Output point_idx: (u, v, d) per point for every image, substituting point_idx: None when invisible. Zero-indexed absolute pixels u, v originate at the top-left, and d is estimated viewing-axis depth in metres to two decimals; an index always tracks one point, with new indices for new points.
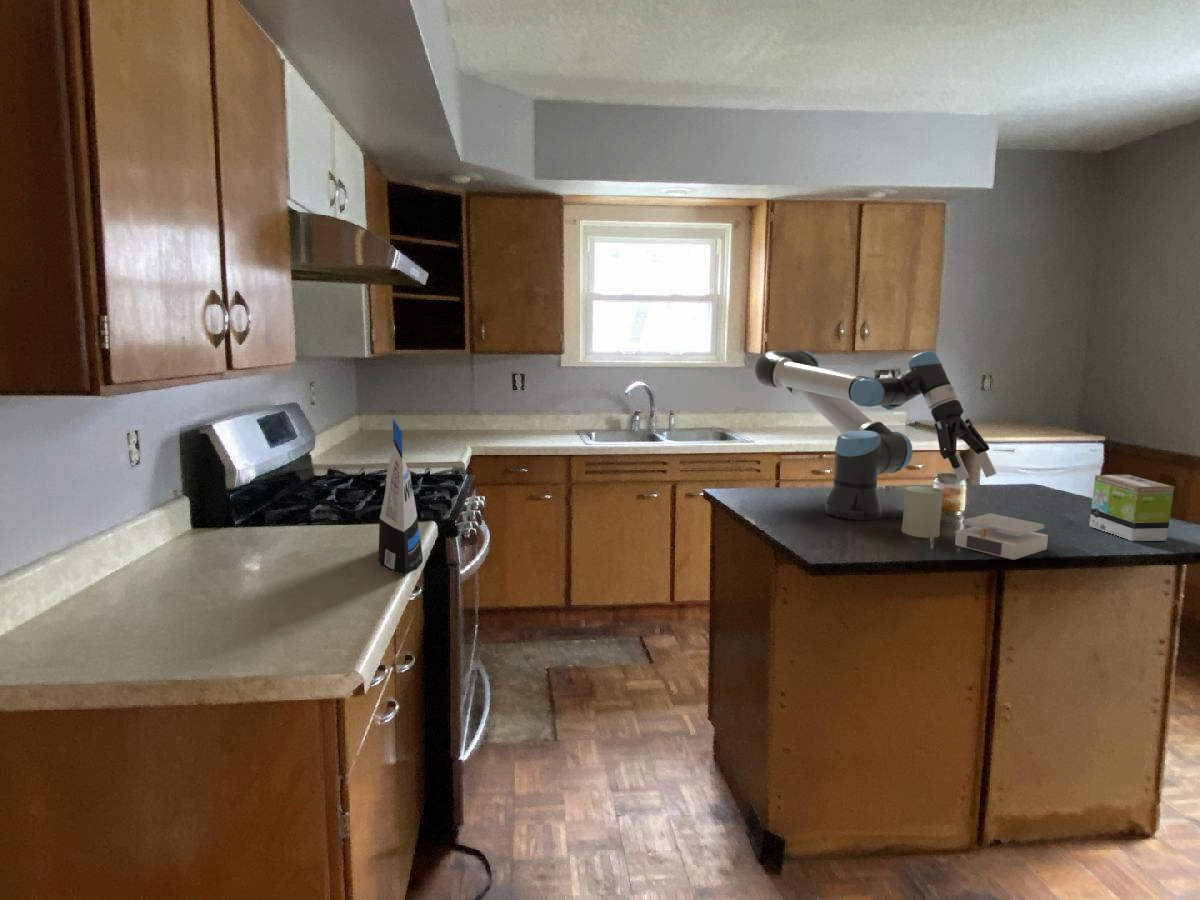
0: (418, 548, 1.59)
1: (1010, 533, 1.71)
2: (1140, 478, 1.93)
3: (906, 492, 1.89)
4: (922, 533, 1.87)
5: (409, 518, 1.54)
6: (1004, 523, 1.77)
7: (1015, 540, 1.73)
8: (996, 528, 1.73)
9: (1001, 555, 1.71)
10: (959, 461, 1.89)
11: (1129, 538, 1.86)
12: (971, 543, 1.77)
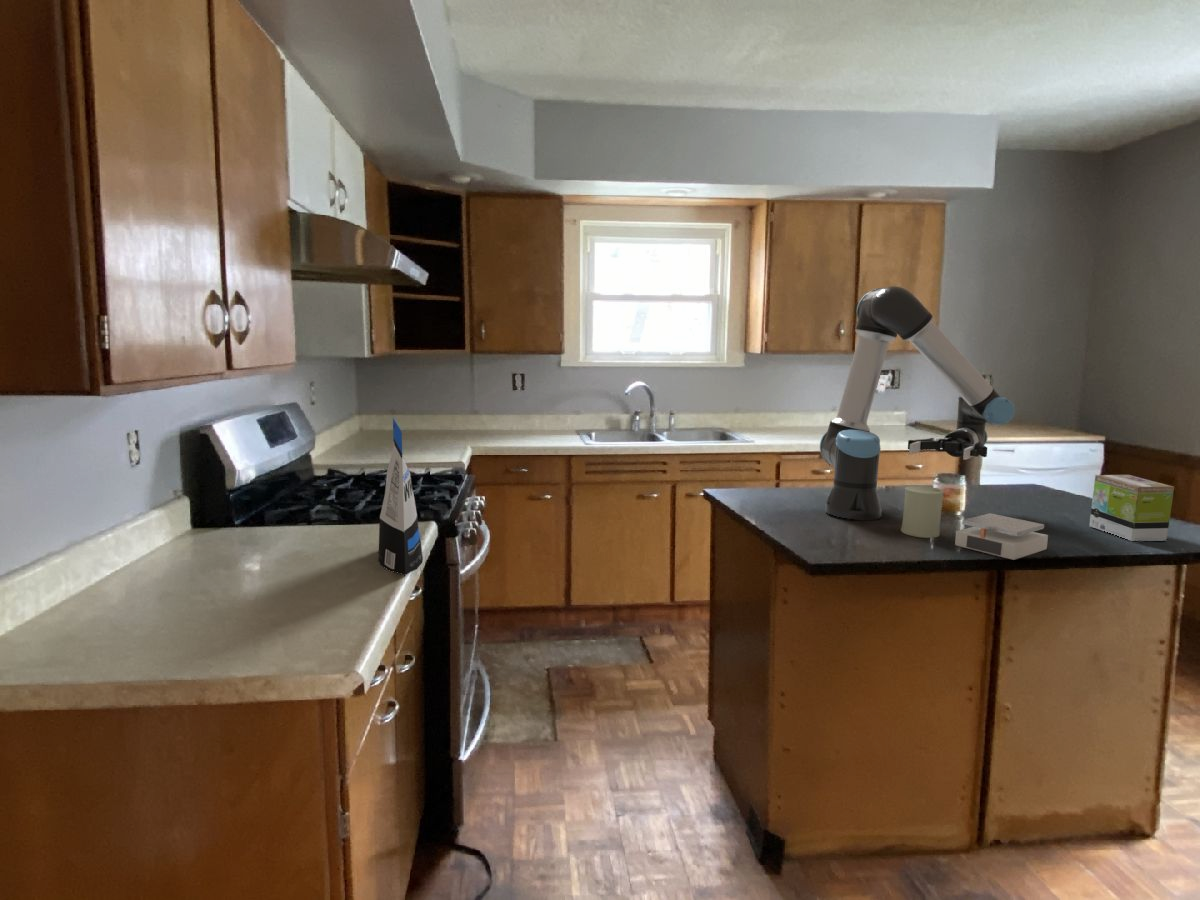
0: (418, 548, 1.59)
1: (1010, 533, 1.71)
2: (1140, 478, 1.93)
3: (906, 492, 1.89)
4: (922, 533, 1.87)
5: (409, 518, 1.54)
6: (1004, 523, 1.77)
7: (1015, 540, 1.73)
8: (996, 528, 1.73)
9: (1001, 555, 1.71)
10: (971, 456, 1.94)
11: (1129, 538, 1.86)
12: (971, 543, 1.77)
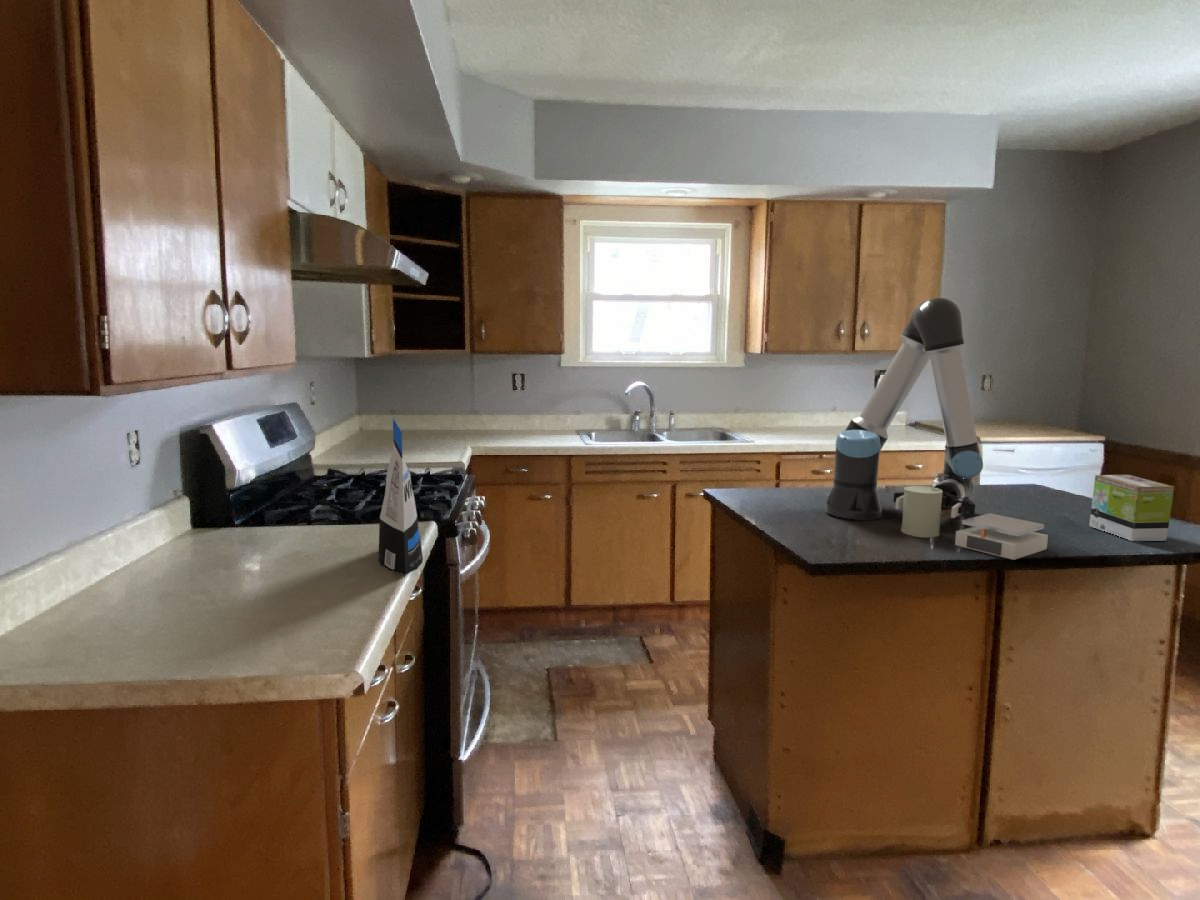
0: (418, 548, 1.59)
1: (1010, 533, 1.71)
2: (1140, 478, 1.93)
3: (905, 492, 1.89)
4: (921, 533, 1.87)
5: (409, 518, 1.54)
6: (1004, 523, 1.77)
7: (1015, 540, 1.73)
8: (996, 528, 1.73)
9: (1001, 555, 1.71)
10: (958, 513, 1.88)
11: (1129, 538, 1.86)
12: (971, 543, 1.77)
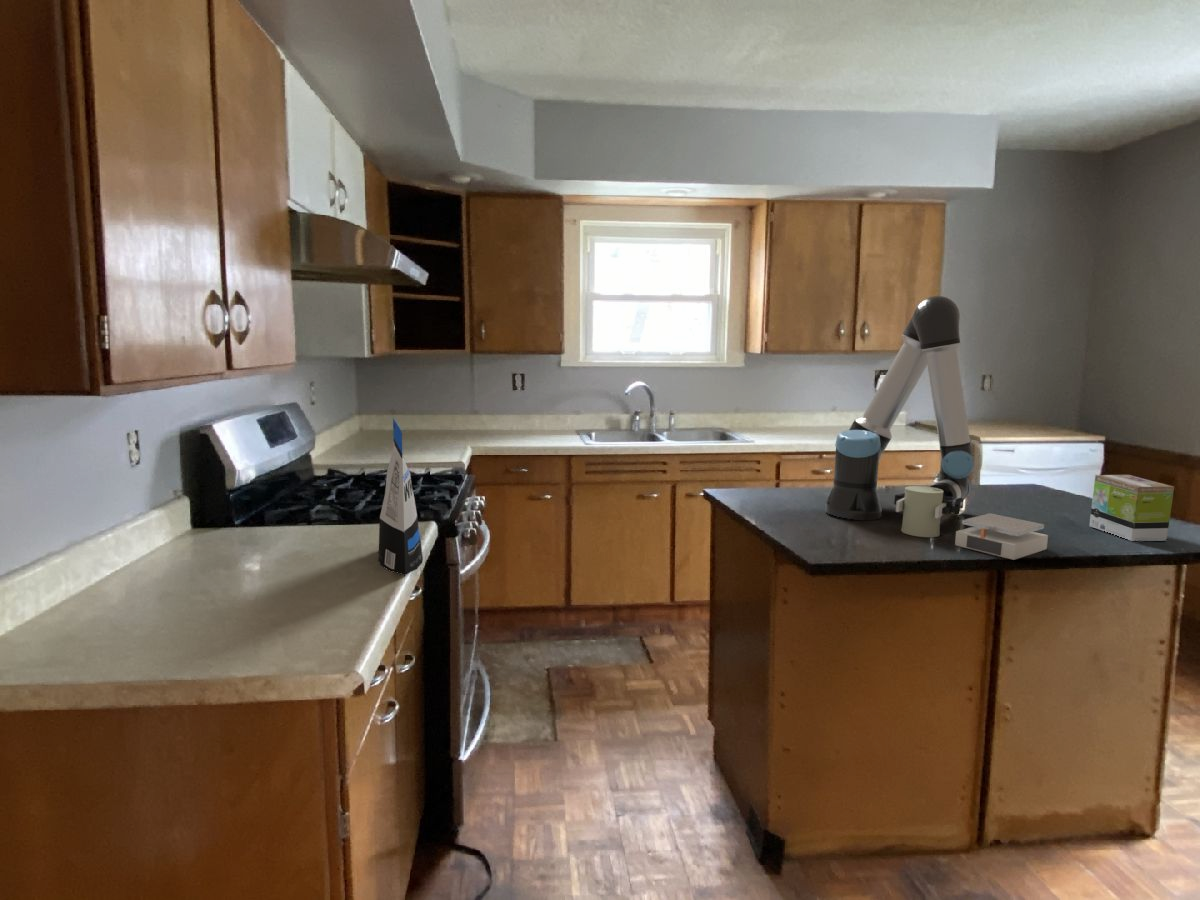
0: (418, 548, 1.59)
1: (1010, 533, 1.71)
2: (1140, 478, 1.93)
3: (906, 491, 1.90)
4: (921, 532, 1.87)
5: (409, 518, 1.54)
6: (1004, 523, 1.77)
7: (1015, 540, 1.73)
8: (996, 528, 1.73)
9: (1001, 555, 1.71)
10: (943, 513, 1.87)
11: (1129, 538, 1.86)
12: (971, 543, 1.77)
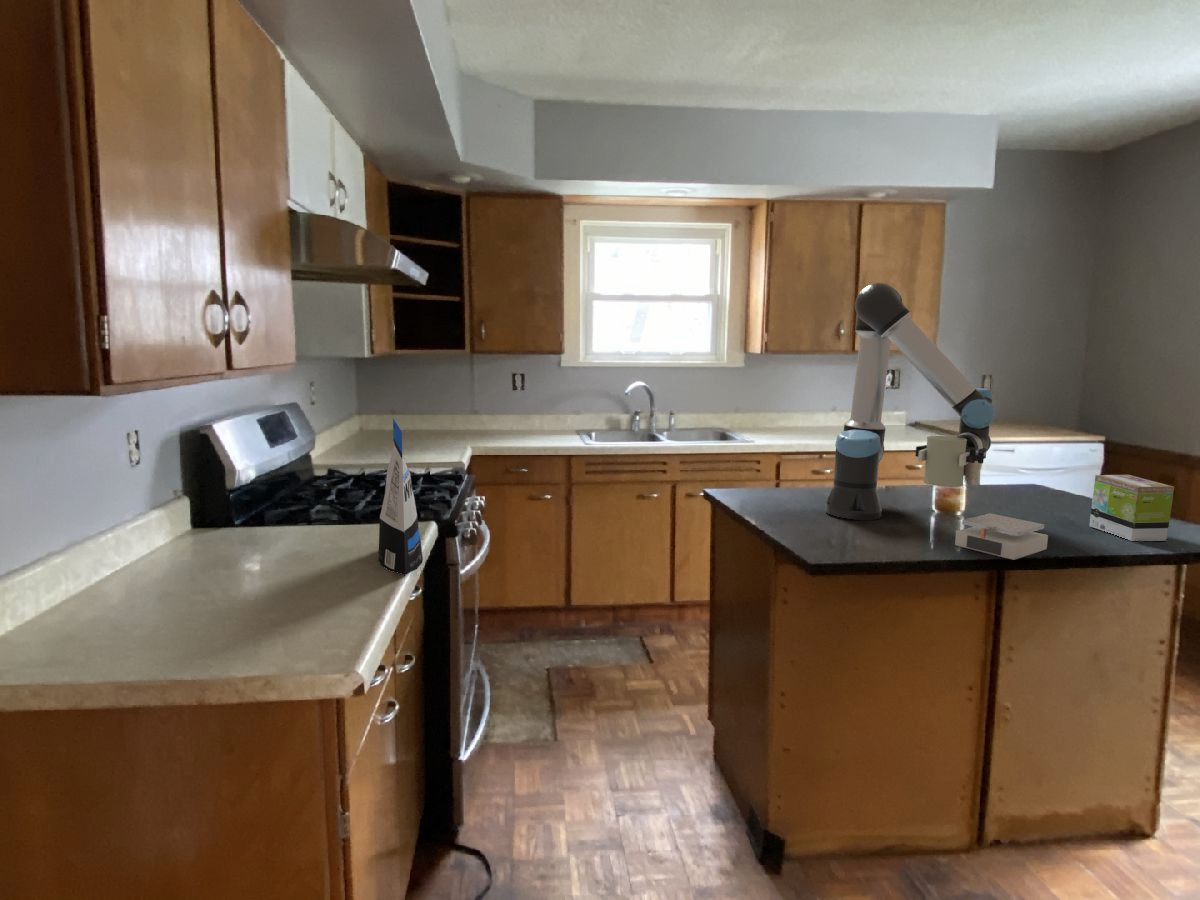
0: (418, 548, 1.59)
1: (1010, 533, 1.71)
2: (1140, 478, 1.93)
3: (928, 441, 1.85)
4: (945, 482, 1.82)
5: (409, 518, 1.54)
6: (1004, 523, 1.77)
7: (1015, 540, 1.73)
8: (996, 528, 1.73)
9: (1001, 555, 1.71)
10: (967, 462, 1.82)
11: (1129, 538, 1.86)
12: (971, 543, 1.77)
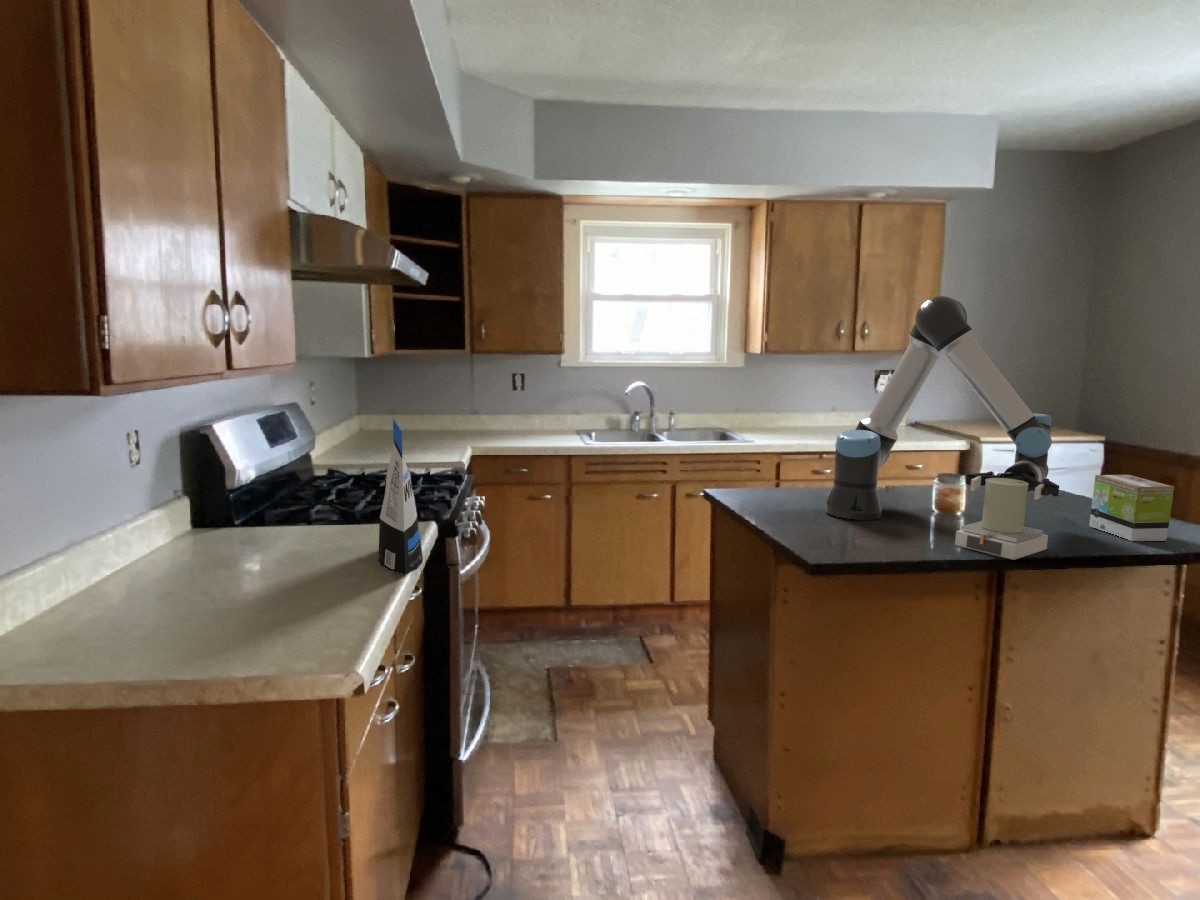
0: (418, 548, 1.59)
1: (1009, 539, 1.71)
2: (1140, 478, 1.93)
3: (987, 484, 1.77)
4: (1005, 528, 1.74)
5: (409, 518, 1.54)
6: None
7: None
8: (995, 534, 1.74)
9: (1001, 555, 1.71)
10: (1041, 495, 1.74)
11: (1129, 538, 1.86)
12: (971, 543, 1.77)
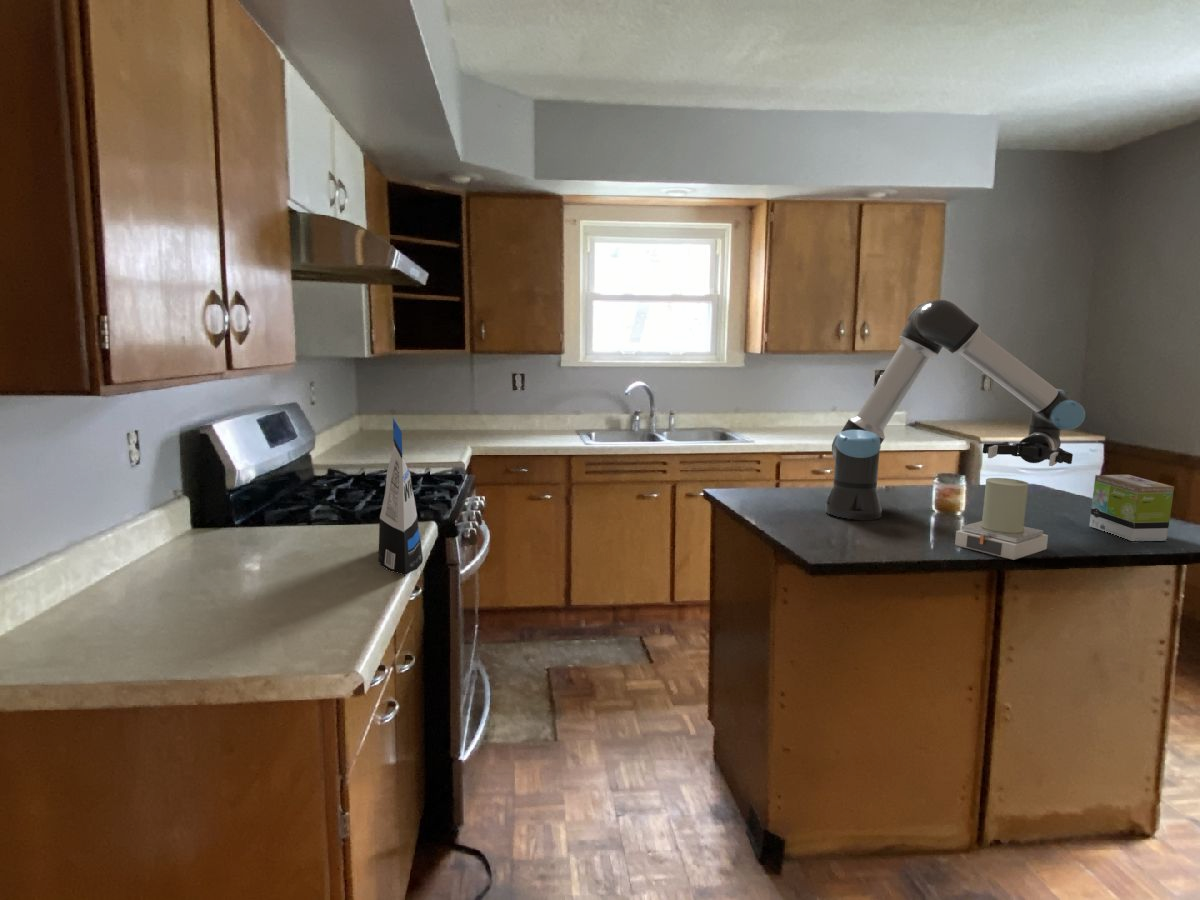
0: (418, 548, 1.59)
1: (1009, 539, 1.71)
2: (1140, 478, 1.93)
3: (988, 484, 1.77)
4: (1005, 528, 1.74)
5: (409, 518, 1.54)
6: None
7: None
8: (995, 534, 1.74)
9: (1001, 555, 1.71)
10: (1055, 462, 1.82)
11: (1129, 538, 1.86)
12: (971, 543, 1.77)
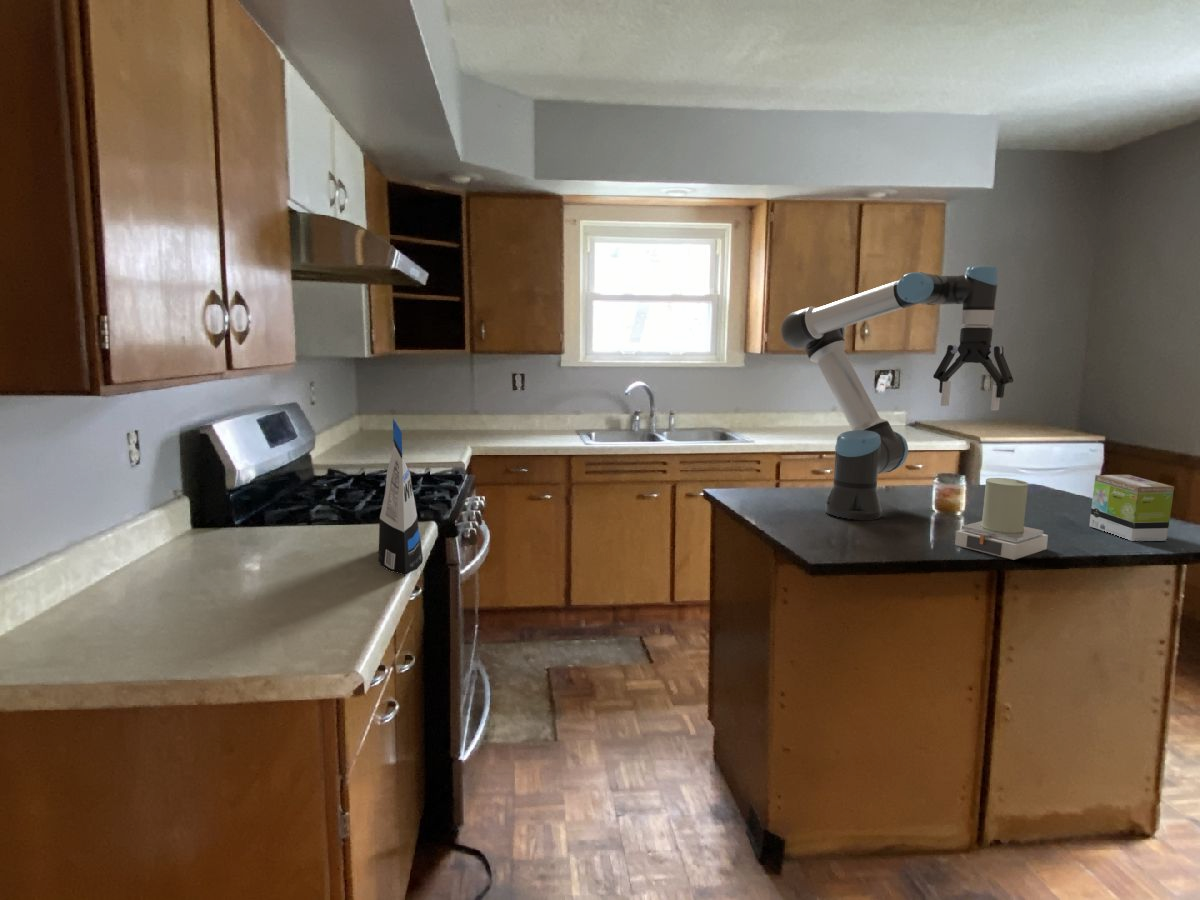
0: (418, 548, 1.59)
1: (1009, 539, 1.71)
2: (1140, 478, 1.93)
3: (988, 484, 1.77)
4: (1005, 528, 1.74)
5: (409, 518, 1.54)
6: None
7: None
8: (995, 534, 1.74)
9: (1001, 555, 1.71)
10: None
11: (1129, 538, 1.86)
12: (971, 543, 1.77)
